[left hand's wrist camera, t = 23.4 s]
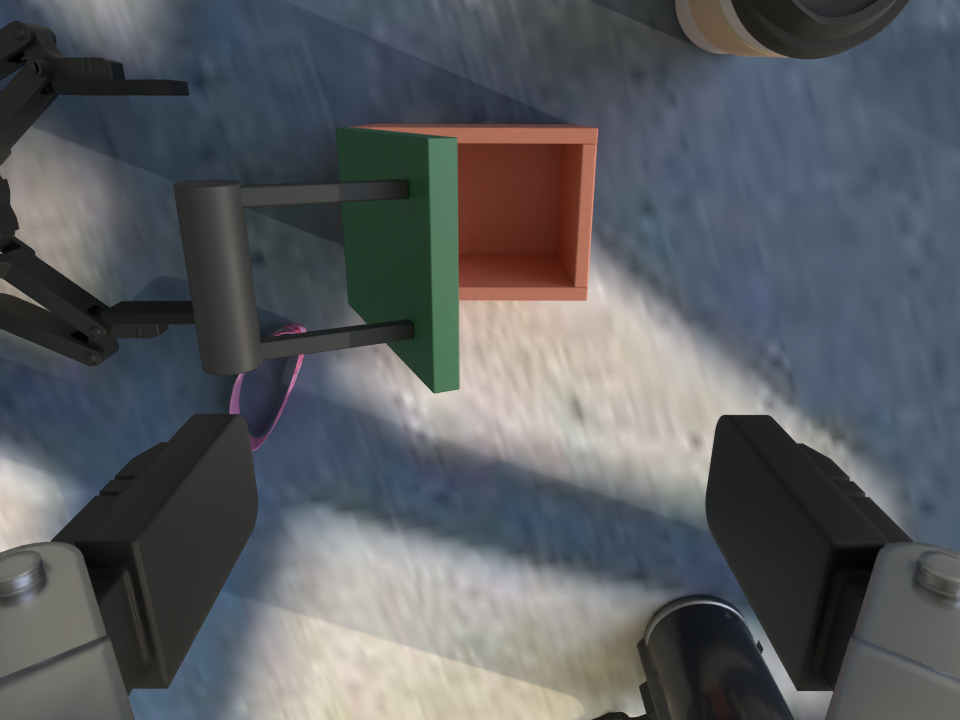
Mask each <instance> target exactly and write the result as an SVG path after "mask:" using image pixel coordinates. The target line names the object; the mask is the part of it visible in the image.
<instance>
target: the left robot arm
mask: <svg viewBox="0 0 960 720" xmlns="http://www.w3.org/2000/svg"><path fill="white" fill-rule="evenodd" d="M257 510H258V495H257V487H256V480H255V473H254V466H253V459H252V452H251V445H250V438H249V431H248V426H247V422H246V420H245V418H244V416H243V415H241V414H195V415H193V416H192V417H191V418H190V419H189V420H188V421H187V422H186V423H185V424H184V425H183V426H182V427H181V429H180V430H179V431H178V432H177V433H176V434H175V435H174V436H173V437H172V438H171V439H170V440H169V441H168V442H161V443H159V444H158V445H156V446H154V447H152V448H150V449H149V450H147V451H145V452H143V453H141V454H140V455H138V456H136V457H134V458H133V459H132V460H131V461H130V462H129V463H128V464H127V465H126V466H125V467H124V468H123V469H122V470H121V471H120V472H119V473H118V474H117V475H116V476H115V480H111V481H110V482H109V483H108V484H107V485H106V486H105V487H104V488H103V489H102V490H101V491H100V495H99V496H95V497H94V498H93V499H92V500H91V501H90V502H89V503H88V504H87V505H86V506H85V507H84V508H83V509H82V510H81V511H80V512H79V513H78V514H77V515H76V516H75V517H74V518H73V519H72V520H71V521H70V522H69V523H68V524H67V525H66V526H65V527H64V528H63V529H62V530H61V531H60V532H59V533H58V534H57V535H56V536H55V537H54V538H53V539H52V540H51V541H50V542H41V543H33V544H28V545H23V546H19V547H16V548H12V549H9V550H6V551H4V552H1V553H0V720H135V718H134V715H133V712H132V708H131V705H130V702H129V699H128V696H129V694H130V693H131V691H132V689H168V687H169V686H170V684H171V682H172V680H173V678H174V676H175V674H176V673H177V671H178V669H179V667H180V665H181V663H182V661H183V660H184V658H185V656H186V654H187V652H188V650H189V648H190V647H191V645H192V643H193V641H194V639H195V637H196V635H197V634H198V632H199V630H200V628H201V626H202V624H203V622H204V621H205V619H206V617H207V615H208V613H209V611H210V609H211V608H212V606H213V604H214V602H215V600H216V598H217V596H218V595H219V593H220V591H221V589H222V587H223V585H224V583H225V582H226V580H227V578H228V576H229V574H230V572H231V570H232V569H233V567H234V565H235V563H236V561H237V559H238V557H239V556H240V554H241V552H242V550H243V548H244V546H245V544H246V543H247V541H248V539H249V537H250V535H251V533H252V531H253V529H254V526H255V522H256V517H257ZM706 516H707V521H708V525H709V529H710V531H711V534H712V536H713V537H714V539H715V541H716V543H717V545H718V547H719V548H720V550H721V552H722V554H723V556H724V558H725V559H726V561H727V563H728V565H729V567H730V569H731V570H732V572H733V574H734V576H735V578H736V580H737V581H738V583H739V585H740V587H741V589H742V591H743V592H744V594H745V596H746V598H747V600H748V602H749V603H750V605H751V607H752V609H753V611H754V613H755V614H756V616H757V618H758V620H759V622H760V624H761V625H762V627H763V629H764V631H765V633H766V635H767V636H768V638H769V640H770V642H771V644H772V646H773V647H774V649H775V651H776V653H777V655H778V657H779V658H780V660H781V662H782V664H783V666H784V668H785V669H786V671H787V673H788V675H789V677H790V679H791V680H792V682H793V684H794V686H795V688H796V690H797V691H833V695H832V699H831V702H830V705H829V708H828V712H827V715H826V718H825V720H960V553H959V552H956V551H954V550H951V549H948V548H944V547H941V546H937V545H932V544H927V543H919V542H914V541H913V540H912V539H911V538H910V537H909V536H908V535H907V534H906V533H905V532H904V531H903V530H902V529H901V528H900V527H899V526H898V525H897V524H896V523H895V522H894V521H893V520H892V519H891V518H890V517H889V516H888V515H887V514H886V513H885V512H884V511H883V510H882V509H881V508H880V507H879V506H878V505H877V504H876V503H875V502H874V501H872V500H871V499H870V498H869V497H865V493H864V492H863V491H862V490H861V489H860V488H859V487H858V486H857V485H856V484H855V483H854V482H853V481H850V478H849V477H848V476H847V475H846V474H845V473H844V472H843V471H842V470H841V469H840V468H839V467H838V466H837V465H836V464H835V463H834V462H833V461H832V460H831V459H830V458H828V457H826V456H824V455H823V454H821V453H819V452H817V451H815V450H814V449H812V448H810V447H808V446H806V445H804V444H797V443H796V442H795V441H794V440H793V439H792V438H791V437H790V436H789V435H788V434H787V433H786V432H785V430H784V429H783V428H782V427H781V426H780V425H779V424H778V423H777V422H776V421H775V420H774V419H773V418H772V417H771V416H769V415H723V416H721V417H720V418H719V420H718V422H717V425H716V429H715V435H714V442H713V449H712V456H711V463H710V470H709V477H708V484H707V491H706ZM637 648H638V652H639V655H640V659H641V662H642V666H643V669H644V672H645V676H646V679H647V681H645V682H644V683H643V684H641V685H640V686H639V689H640V692H641V696H642V700H643V703H644V707H645V710H646V714H644V715H642V716H639V717H629V716H628V715H627V714H625V713H624V712H614V713H610V714H606V715H604V716H601V717H599V718H596V719H593V720H795V719H794V717H793V715H792V713H791V711H790V709H789V707H788V705H787V703H786V701H785V699H784V697H783V696H782V694H781V692H780V690H779V688H778V686H777V684H776V682H775V680H774V678H773V676H772V674H771V672H770V670H769V668H768V666H767V664H766V663H765V661H764V659H763V657H762V655H761V654H762V651H763V648H762V646H761V644H760V642H759V640H758V643H757V645H756V643H755V641H754V639H753V636H752V635H751V632H750V630H749V628H748V625H747V623H746V621H745V619H744V618H743V616H742V614H741V613H740V611H739V610H738V609H737V608H736V607H734V606H733V605H732V604H730V603H729V602H727V601H725V600H722V599H719V598H716V597H711V596H692V597H687V598H683V599H680V600H677V601H675V602H672V603H670V604H669V605H667V606H665V607H664V608H662V609H661V610H660V611H659V612H658V613H657V614H656V615H655V616H654V617H653V618H652V620H651V621H650V623H649V624H648V626H647V629H646V632H645V637H644V639H643V641H641V642H640V643H639V644H638V645H637Z"/></svg>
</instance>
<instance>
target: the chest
mask: <svg viewBox="0 0 960 720" xmlns="http://www.w3.org/2000/svg"><path fill="white" fill-rule="evenodd" d="M354 127H357V128H367V129H377V130H387V131H397V132H407V133H417V134H427V135H437V136H447V137H456V138H457V152H458V269H459V300H578V301H586V300H587V292H588V288H587V286H588V276H589V260H590V245H591V229H592V214H593V198H594V182H595V167H596V151H597V145H596V144H597V138H598V128H594V127H588V126H582V125H575V124H440V123H376V124H368V125H361V126H354Z"/></svg>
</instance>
